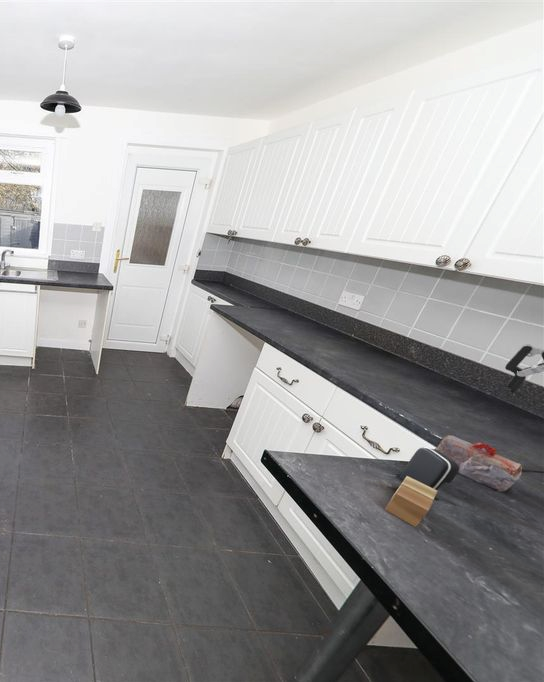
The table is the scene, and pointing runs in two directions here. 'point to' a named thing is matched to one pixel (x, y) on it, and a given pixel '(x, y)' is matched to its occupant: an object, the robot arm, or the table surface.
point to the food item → (481, 463)
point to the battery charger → (430, 468)
